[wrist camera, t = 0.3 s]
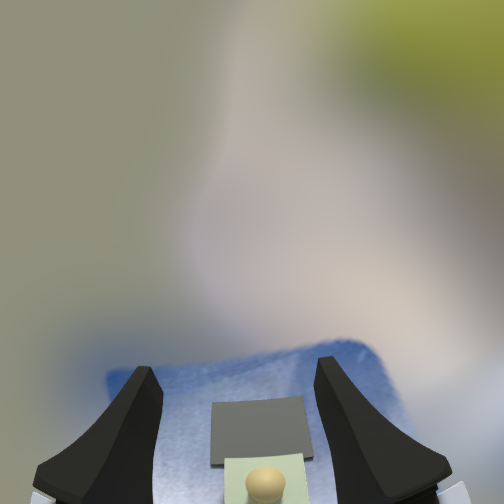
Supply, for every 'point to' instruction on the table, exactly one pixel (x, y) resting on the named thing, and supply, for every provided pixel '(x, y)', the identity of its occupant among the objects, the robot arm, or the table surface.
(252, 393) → the table surface
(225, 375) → the table surface
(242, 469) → the lid
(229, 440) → the mat
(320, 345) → the table surface
